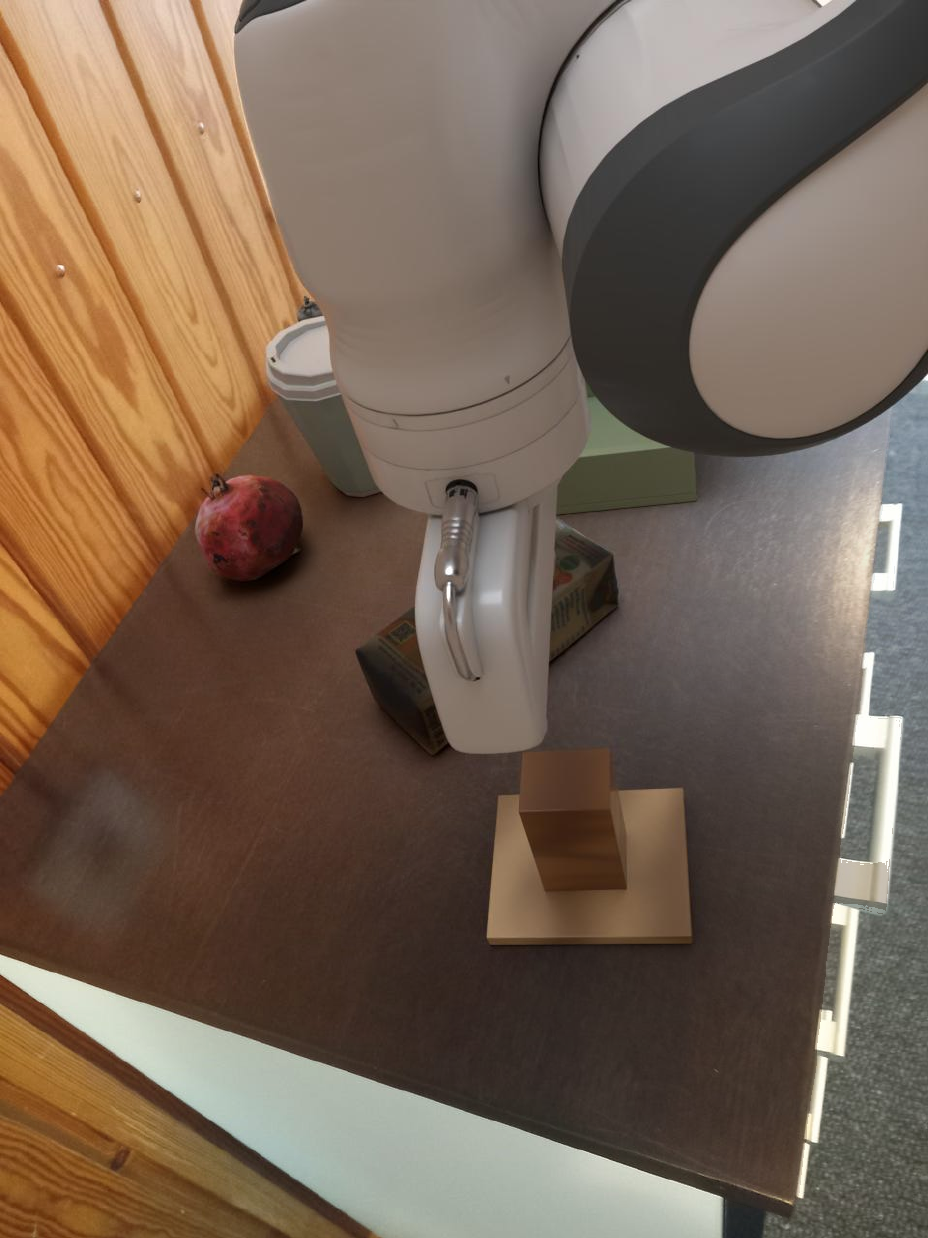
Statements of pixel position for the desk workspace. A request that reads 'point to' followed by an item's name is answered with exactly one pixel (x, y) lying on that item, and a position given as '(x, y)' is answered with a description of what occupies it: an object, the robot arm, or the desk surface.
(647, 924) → the board
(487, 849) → the desk surface
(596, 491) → the green box base
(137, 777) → the desk surface
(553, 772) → the brown wooden block
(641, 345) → the robot arm
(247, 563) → the fruit
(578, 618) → the beverage carton
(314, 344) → the disposable coffee cup
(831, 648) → the desk surface
